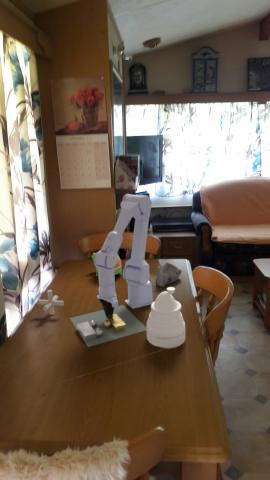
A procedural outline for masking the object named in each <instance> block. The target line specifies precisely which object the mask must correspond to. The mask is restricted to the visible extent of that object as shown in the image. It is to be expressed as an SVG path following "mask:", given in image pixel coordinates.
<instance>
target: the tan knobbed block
mask: <svg viewBox="0 0 270 480" xmlns="http://www.w3.org/2000/svg"><path fill="white" fill-rule="evenodd" d="M103 326H104V327H105V328H106V329H109V328H112V329H113V330H114V331H115V332H119V331H123V330H126V324H125V323H124V322H123V321H122V320H121V319H120V318H119V317H118V315H117V314H113V315H109V316H106V321H104V322H103Z"/></svg>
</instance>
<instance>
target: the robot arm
mask: <svg viewBox="0 0 270 480" xmlns="http://www.w3.org/2000/svg"><path fill="white" fill-rule="evenodd" d="M120 208H121V209H120V212H119V215H118V217H117V221H116V223H115V226H114V227H113V228H114V229H113V230H111V231H110V232H108V234H107V236H106V238H105V241H104V243H103V245H102V247H101V248H100V250H99V251H97V252H95V253H96V254H95V258H94V261H93V264H94V266H95V265H96V266H95V268H96V267H97V270H98V276H97V277H98V286H99V287H98V293H99V294H98V295H96V298H97V299H98V301H99V302H100V304H101V306H102V308H103V309H102V310H104V312H105V315H106V316H109V315H113V311H114V308H115V307H117V306H119V301H118V298H117V293H116V281H115V280H116V279H115V277H116V276H115V275H114V266H115V265H116V263H117V256H119V253H118V252H119V250H120V247H121V245H122V243H123V242H124V236H123V234H124V232H125V230H126V229H127V227H128V225H129V224H130V222H131V220H132V218H134V219H135V220H134V226H133V227H134V228H133V235H132V236H133V237H132V245H131V252H130V253H131V255H130V259H128V260H126V261H125V264H124V268H123V270H122V278H123V279H124V280H125V282H126V284H127V294H128V295H127V297H128V299H125V300H124V302H125V303H126V304H127V305H128V306H129V307H130V308H131V309H138V308H141V307H145V306H149V305H150V306H151V304H152V303H153V302H154V301H153V298H154V297H153V286H152V282H151V281H150V277H151V275H150V274H151V273H150V272H151V271H150V265H149V264H148V263H147V261H146V259H145V255H146V249H147V248H146V247H147V238H148V230H149V221H150V217H151V210H152V200H151V199H150V197H149V195H147V194H146V195H141V194H140V195H139V194H130V193H126V194H125V195H123V197H122V201H121V202H120Z"/></svg>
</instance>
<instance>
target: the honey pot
mask: <svg viewBox="0 0 270 480" xmlns="http://www.w3.org/2000/svg"><path fill="white" fill-rule="evenodd" d="M175 291H176V288H175V287H173V286H169V287H167V288H166V291H162V292H161V293H159V294H158V296H157V297H156V299H155V300H154V301H153V303H152V304H150V309H151V311H150V312H149V315H148V318H147V321H146V326H145V327H146V328H147V330H146V340H147V342H148V343H150V344H151V345H152V346H155V347H158V348H164V349H174V348H177V347H180V346H181V345H182V344H185V341H186V323H185V320H184V317H183V314H182V312H181V310H182V304H181V303H180V301H178V300H176V299H175V297H174V296H173V294H175Z"/></svg>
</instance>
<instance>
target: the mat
mask: <svg viewBox="0 0 270 480" xmlns="http://www.w3.org/2000/svg"><path fill="white" fill-rule="evenodd" d="M113 314H117V315H118V317H119V318H120V319H121V320H122V321H123V322H124V323H125V324H126V330H123V331H119V332H115V331H114V330H113V329H112V328H109V329H106V328H105V327H104V326H103V322H104V321H106V315H105V312H104V309H101V310H97V311H93V312H89V313H86V314H85V313H84V314H82V315H77V316H73V317H69V320H70V321H71V323H72V325H73V326H74V328H75V329H76V330H77V332H78V334H79V336H80V337H81V338H82V340H83V341H84V343H85V345H86V346H87V347H88V348H89V347H93V346H97V345H100V344H103V343H107V342H111V341H113V340H117V339H120V338H124V337H127V336H131V335H135V334H138V333H141V332H146V331H147V328H146V327H147V326H145V325H144V324H143V323H142V322H141V321H140V320H139V319H138V318H137V317H136V316H135V314H133V313H132V312H131V310H129V309H128V308H127V307H126V306H125V305H123V304H121V305H118V306H117V307H115V308H114V311H113ZM90 320H94V321H95V322H96V324H97V326H96V328H100V329H101V330H102V331H103V336H102V337H100V338H99V337H97V338H96V339H93V340H89V341H86V342H85V340H84V339H83V337H82V336H81V334H80V333H79V331H78V329H77V324H80V323H84V322H89V321H90ZM96 328H94V331H95V329H96Z"/></svg>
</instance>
